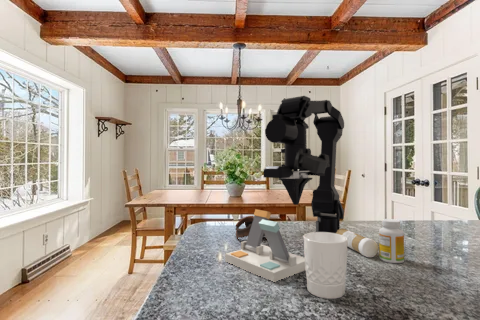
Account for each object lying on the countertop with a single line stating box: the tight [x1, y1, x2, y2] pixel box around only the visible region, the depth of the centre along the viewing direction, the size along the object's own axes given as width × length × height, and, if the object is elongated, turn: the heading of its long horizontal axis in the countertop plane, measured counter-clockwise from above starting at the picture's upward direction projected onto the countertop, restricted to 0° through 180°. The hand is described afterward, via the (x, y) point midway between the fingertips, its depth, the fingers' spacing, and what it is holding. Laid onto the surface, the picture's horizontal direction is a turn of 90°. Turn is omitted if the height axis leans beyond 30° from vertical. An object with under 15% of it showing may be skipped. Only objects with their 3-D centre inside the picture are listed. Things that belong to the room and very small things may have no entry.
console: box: [224, 240, 306, 283], centre depth 66 cm, size 12×16×4 cm
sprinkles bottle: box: [336, 227, 379, 258], centre depth 77 cm, size 5×5×13 cm
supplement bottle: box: [378, 218, 405, 264], centre depth 69 cm, size 5×5×10 cm
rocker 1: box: [245, 208, 272, 252], centre depth 71 cm, size 1×4×10 cm, turn 40°
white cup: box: [303, 231, 348, 300], centre depth 52 cm, size 8×8×10 cm
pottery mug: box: [235, 215, 266, 240], centre depth 90 cm, size 12×10×8 cm
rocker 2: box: [259, 219, 290, 263], centre depth 61 cm, size 1×4×10 cm, turn 41°
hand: (295, 204), depth 73 cm, fingers closed
